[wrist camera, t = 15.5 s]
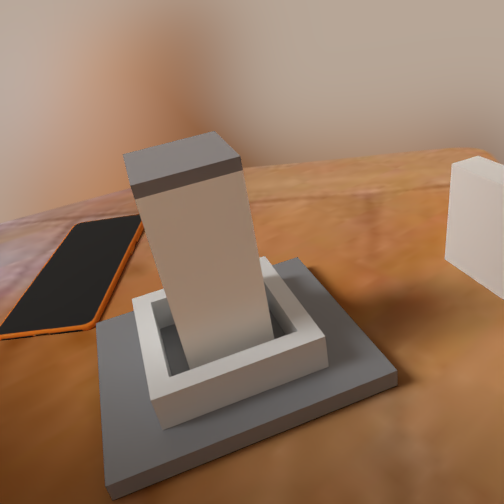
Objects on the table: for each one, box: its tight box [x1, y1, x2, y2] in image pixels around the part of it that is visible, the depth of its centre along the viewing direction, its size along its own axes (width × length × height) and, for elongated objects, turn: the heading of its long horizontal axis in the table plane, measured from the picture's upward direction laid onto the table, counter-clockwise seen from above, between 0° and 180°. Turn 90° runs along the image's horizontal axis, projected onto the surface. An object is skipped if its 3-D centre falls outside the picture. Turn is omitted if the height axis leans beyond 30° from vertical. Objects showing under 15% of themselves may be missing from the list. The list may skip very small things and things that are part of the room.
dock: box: [96, 256, 398, 500], centre depth 26 cm, size 14×12×3 cm
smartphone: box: [0, 214, 144, 341], centre depth 38 cm, size 8×17×1 cm, turn 179°
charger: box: [123, 131, 274, 370], centre depth 23 cm, size 4×4×11 cm
